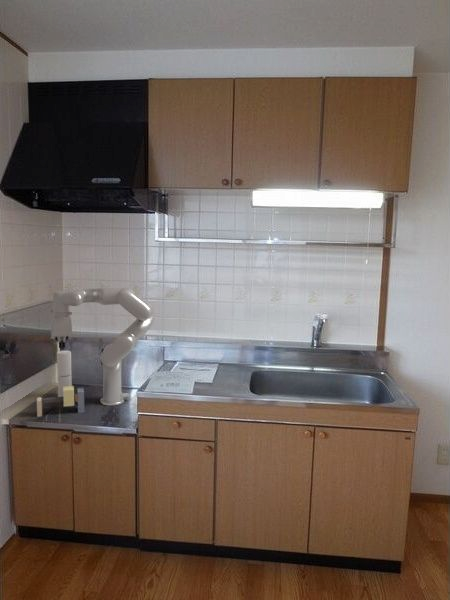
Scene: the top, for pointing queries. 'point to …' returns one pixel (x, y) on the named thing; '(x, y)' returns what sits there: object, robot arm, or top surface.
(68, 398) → the pale yellow block
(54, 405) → the top surface
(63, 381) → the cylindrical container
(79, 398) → the grey h-shaped piece
